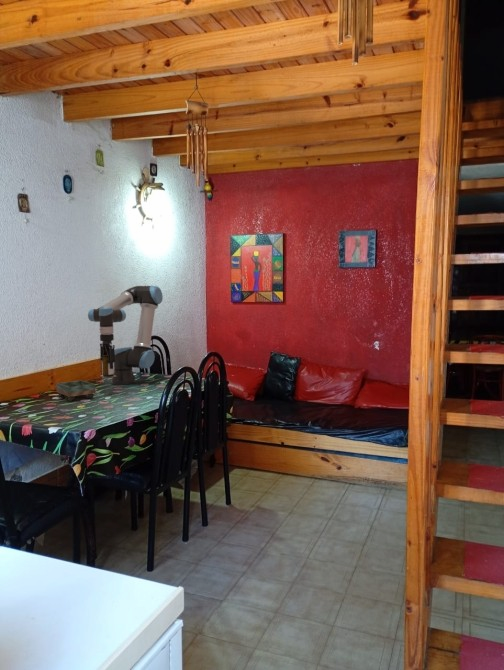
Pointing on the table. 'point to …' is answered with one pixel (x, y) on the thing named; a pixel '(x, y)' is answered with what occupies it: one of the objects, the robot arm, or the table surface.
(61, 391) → the shallow square tray
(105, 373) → the condiment
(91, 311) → the robot arm
